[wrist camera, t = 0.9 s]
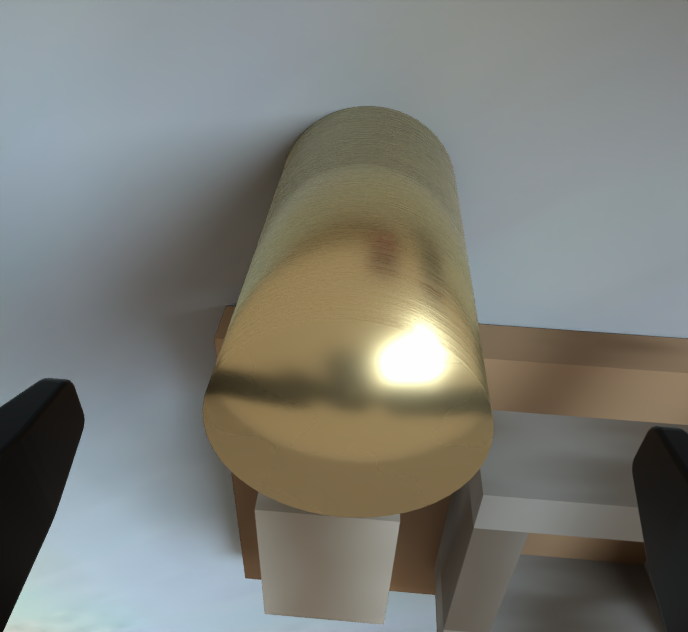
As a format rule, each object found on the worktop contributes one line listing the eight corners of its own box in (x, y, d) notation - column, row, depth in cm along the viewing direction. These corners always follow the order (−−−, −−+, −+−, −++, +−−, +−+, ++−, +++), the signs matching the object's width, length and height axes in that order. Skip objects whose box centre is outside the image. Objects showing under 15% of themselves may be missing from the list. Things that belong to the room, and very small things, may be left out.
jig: (845, 350, 18) (958, 480, 14) (676, 581, 26) (721, 700, 22) (226, 305, 18) (184, 419, 15) (252, 545, 26) (229, 654, 23)
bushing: (468, 111, 14) (522, 333, 8) (442, 269, 17) (467, 527, 11) (279, 100, 14) (185, 309, 8) (284, 259, 17) (217, 506, 11)
